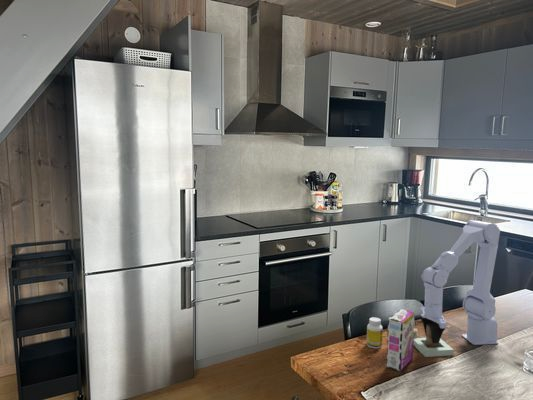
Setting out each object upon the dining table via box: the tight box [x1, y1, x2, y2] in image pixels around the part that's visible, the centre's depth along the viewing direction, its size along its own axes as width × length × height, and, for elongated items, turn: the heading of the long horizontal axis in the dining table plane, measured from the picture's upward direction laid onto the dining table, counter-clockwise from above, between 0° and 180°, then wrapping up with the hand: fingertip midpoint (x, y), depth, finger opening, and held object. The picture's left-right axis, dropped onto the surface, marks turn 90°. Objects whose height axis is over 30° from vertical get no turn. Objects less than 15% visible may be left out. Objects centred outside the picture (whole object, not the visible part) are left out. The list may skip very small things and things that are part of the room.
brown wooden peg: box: [425, 324, 439, 348], centre depth 141 cm, size 4×4×7 cm
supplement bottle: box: [366, 316, 383, 349], centre depth 145 cm, size 5×5×10 cm
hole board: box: [413, 337, 455, 358], centre depth 142 cm, size 10×10×2 cm
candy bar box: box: [386, 308, 415, 372], centre depth 132 cm, size 11×5×16 cm, turn 141°
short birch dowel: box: [413, 328, 419, 338], centre depth 149 cm, size 4×4×4 cm
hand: (432, 339), depth 142 cm, fingers closed on brown wooden peg, 4 cm apart
